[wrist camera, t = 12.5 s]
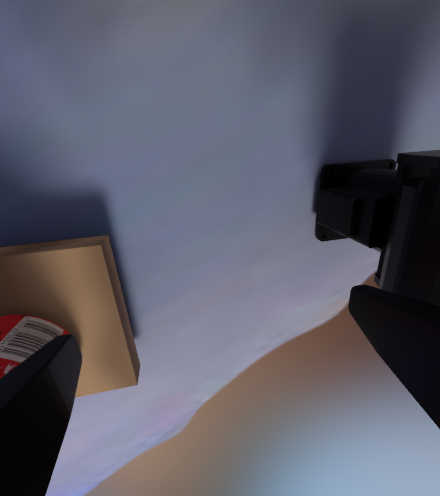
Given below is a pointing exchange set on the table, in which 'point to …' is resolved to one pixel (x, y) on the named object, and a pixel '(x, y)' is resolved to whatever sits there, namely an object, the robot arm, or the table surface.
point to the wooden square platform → (75, 304)
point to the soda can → (23, 338)
